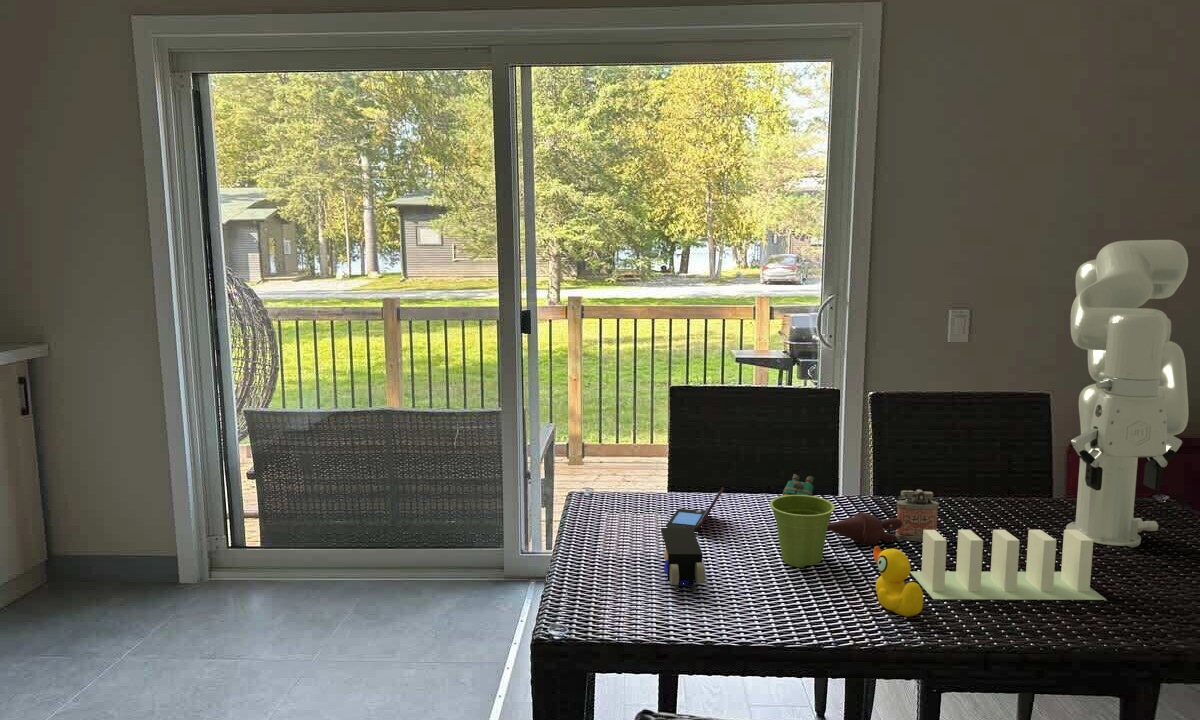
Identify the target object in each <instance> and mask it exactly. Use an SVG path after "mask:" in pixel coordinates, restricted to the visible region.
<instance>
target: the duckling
mask: <svg viewBox="0 0 1200 720" xmlns="http://www.w3.org/2000/svg"><path fill="white" fill-rule="evenodd" d="M873 559H874V562H875V564H876V565H877V568H878V572H879V573H880V576H879V577H878V578H877V579H876V582H875V591H876V594H877V600H878V603H880V605H881V606H882V607H883V608H885V609H886V610H887V611H892V612H893V613H894V614H897V615H899V616H902V617H905V618H907V617H908V618H909V617H914V616H917V615H919V613H921V611H922V610H923V608H924V607H923V606H924V592H923V588H921V587H922V586H921V585H920V584H918V583H917V582H915V581H909V582H907V583H905V582H904V581H905V580H906V579H908V578H909V576H910V574H911V573H910V571H911V570H912V568H911V563H910V560H909V558H908V556H907V555H906V554H905V553H904V552H903V551H901V550H900V549H897V548H887V549H884V550H881V547H880V546H878V545H876V546H874V547H873Z"/></svg>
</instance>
